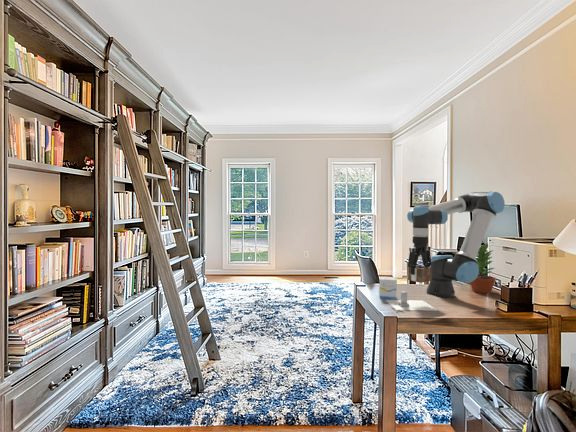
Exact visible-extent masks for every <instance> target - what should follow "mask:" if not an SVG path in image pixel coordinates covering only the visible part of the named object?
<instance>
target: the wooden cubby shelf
mask: <svg viewBox="0 0 576 432" xmlns="http://www.w3.org/2000/svg"><path fill="white" fill-rule="evenodd" d="M407 269H408V270H407V280H408V281H411V268H409V267H408V266H407ZM416 269H417V281H414V282H416V283H421V284H422V283H428V282H430V281H431V266H430V267H426V266H424V265H420V264H418V265H416Z"/></svg>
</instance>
